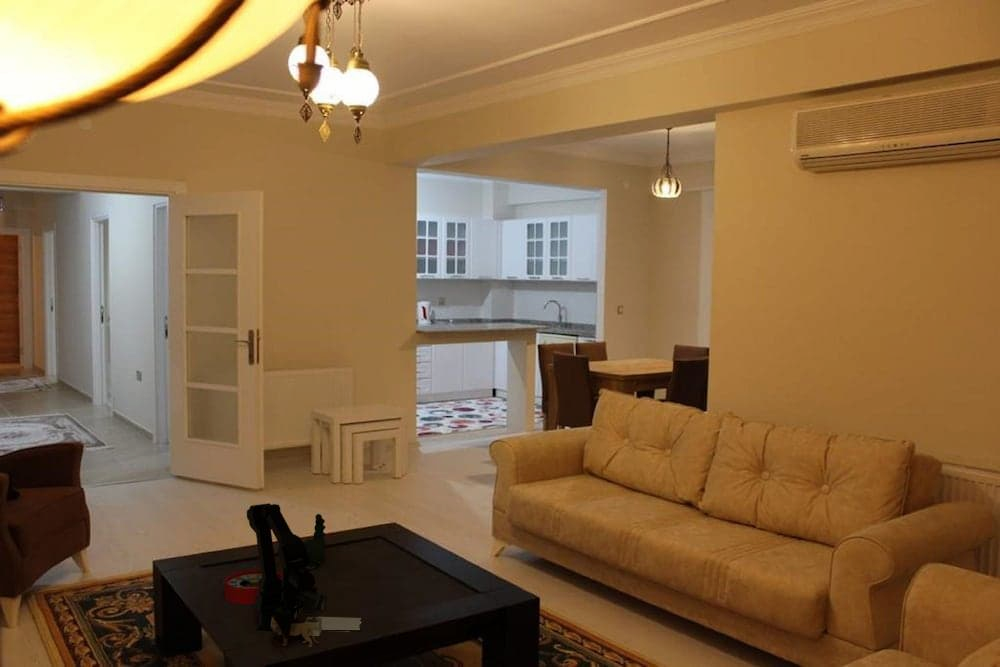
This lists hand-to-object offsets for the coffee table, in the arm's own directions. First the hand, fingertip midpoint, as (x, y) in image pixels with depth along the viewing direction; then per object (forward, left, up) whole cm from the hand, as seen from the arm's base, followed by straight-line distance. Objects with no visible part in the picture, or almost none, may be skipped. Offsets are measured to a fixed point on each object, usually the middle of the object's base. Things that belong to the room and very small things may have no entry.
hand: (290, 632), depth 263 cm
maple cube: (-8, +5, -4) cm, 11 cm away
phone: (-33, 0, -4) cm, 33 cm away
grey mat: (-16, +12, -4) cm, 20 cm away
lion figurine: (0, +1, -4) cm, 4 cm away
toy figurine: (-76, -9, -4) cm, 77 cm away
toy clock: (-41, -22, -4) cm, 47 cm away
